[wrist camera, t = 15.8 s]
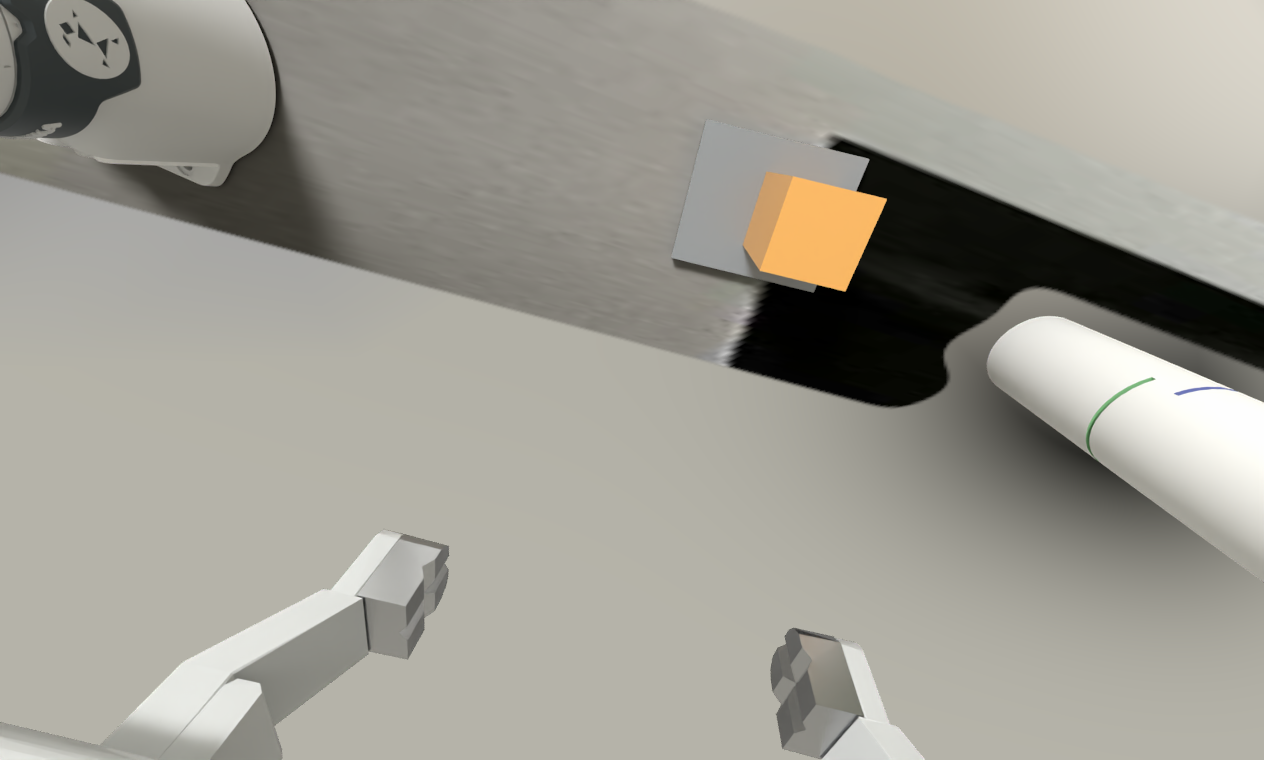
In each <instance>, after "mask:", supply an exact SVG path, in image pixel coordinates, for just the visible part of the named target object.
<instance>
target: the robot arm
mask: <svg viewBox="0 0 1264 760" xmlns="http://www.w3.org/2000/svg"><path fill="white" fill-rule="evenodd" d="M275 101H276V88H275V77H274V71H273V66H272V61H271V57H270V54H269V50H268V47H267V44H266V42H265V39H264V36H263V34H262V32H261V29H260V27H259V25H258V23H257V21H256V19H255V17H254V15H253V13H252V11H251V10H250V8H249V6H248V5H247V3H246V1H245V0H0V137H3V138H8V139H34V138H37V139H38V140H40V141H42V142H45V143H49V144H52V145H57V146H63V147H71V148H73V149H74V152H75V153H76V154H78V155H81V156H84V157H89V158H95V159H96V160H97V161H99V162H103V163H110V164H133V165H156V166H159V167H161V168H163V169H165V170H168V171H170V172H172V173H175V174H177V175H179V176H181V177H184V178H186V179H188V180H190V181H193V182H195V183H197V184H200V185H203V186H220V185H221V184H223V182H224V181H225V180H226V178H227V176H228V174H229V172H230V170H231V167H232V165H233V163H234V162H235V161H237V160H238V159H239V158H241V157H243V156H245V155H246V154H248V153H250V152H251V151H253V150H254V149H255V148H256V147H257V146H258V145H259V144H260V143H261V142H262V141H263V139H264V138H265V136H266V134H267V133H268V131H269V128H270V126H271V123H272V120H273V116H274V110H275ZM448 556H449V546H447V545H443V544H439V543H435V542H432V541H427V540H424V539H420V538H416V537H413V536H409V535H406V534H402V533H397V532H393V531H389V530H385V529H383V530H382V531H380V532H379V533H378V534H376V535H375V536H374V538H373V539H372V540H371V541H370V542H369V544H368V545H367V546H366V547H365V549H364V550H363V551H362V552H361V553H360V555H359V556H358V557H357V558H356V560H355V561H354V562H353V563H352V565H351V566H350V567H349V568H348V569H347V571H346V572H345V573H344V574H343V576H342V577H341V578H340V579H339V580H338V581H337V583H336V584H335V585H334V586H333V588H332V589H331V590H328V589H322V590H320V591H318V592H316V593H315V594H312V595H311V596H309V597H307V598H305V599H303V600H301V601H299V602H297V603H295V604H293V605H292V606H289V607H288V608H286V609H284V610H282V611H280V612H278V613H276V614H274V615H272V616H271V617H268V618H267V619H265V620H263V621H261V622H259V623H257V624H255V625H253V626H251V627H249V628H247V629H245V630H243V631H242V632H240V633H238V634H236V635H234V636H232V637H230V638H228V639H226V640H224V641H222V642H221V643H218V644H216V645H215V646H213V647H211V648H209V649H207V650H205V651H203V652H201V653H199V654H197V655H195V656H193V657H192V658H190V659H188V660H186V661H184V662H182V663H181V664H180V665H179V666H178V667H177V668H176V669H175V670H174V671H173V672H172V673H171V674H170V675H169V676H168V677H167V678H166V679H165V681H163V682H162V683H161V684H160V685H159V686H158V687H157V688H156V689H155V690H154V691H153V692H152V693H151V694H150V695H149V696H148V698H146V699H145V700H144V701H143V702H142V703H141V704H140V705H139V706H138V707H137V708H136V709H135V710H134V711H133V712H132V713H131V714H130V716H129V717H127V719H125V721H123V722H122V724H121V725H119V726H118V727H117V728H116V730H114V731H113V732H112V734H111V735H109V737H107V739H105V740H104V742H103V743H102V744H101V745H96V744H91V743H87V742H83V741H79V740H74V739H70V738H66V737H62V736H58V735H53V734H49V733H45V732H41V731H36V730H32V729H28V728H23V727H19V726H15V725H11V724H6V723H2V722H0V760H282V748H281V745H280V742H279V739H278V736H277V733H276V730H275V727H274V726H275V725H276V724H277V723H279V722H280V721H281V720H283V719H284V718H285V717H287V716H288V715H289V714H291V713H292V712H293V711H295V710H296V709H297V708H298V707H300V706H301V705H302V704H304V703H305V702H306V701H308V700H309V699H310V698H312V697H313V696H314V695H316V694H317V693H318V692H319V691H321V690H322V689H323V688H325V687H326V686H327V685H329V684H330V683H331V682H333V681H334V680H335V679H336V678H338V677H339V676H340V675H342V674H343V673H344V672H345V671H347V670H348V669H350V668H351V667H352V666H353V665H355V664H356V663H357V662H359V661H360V660H361V659H363V658H364V657H365V656H367V655H368V651H370V652H375V653H379V654H384V655H389V656H394V657H399V658H403V659H408V658H409V656H410V654H411V653H412V651H413V649H414V647H415V646H416V644H417V642H418V640H419V638H420V637H421V635H422V633H423V631H424V618H425V617H426V616H428V615H429V614H431V613H432V612H434V611H435V609H436V607H437V605H438V604H439V602H440V600H441V598H442V595H443V592H444V589H445V587H446V584H447V579H448V568H447V566H446V565H445V564H444V563H445V561H446V560H447V558H448ZM785 640H786V644H785V645H783V646H781V647H778V648H777V650H776V652H775V654H774V655H773V659H772V664H771V683H772V690H773V693H774V695H775V696H776V697H777V699H778V700H779V702H780V703H781V706H780V708H779V710H778V712H777V714H776V715H777V720H778V726H779V732H780V738H781V744H782V749H785V750H789V751H792V752H796V753H800V754H804V755H807V756H811V757H814V758H818V759H822V760H925V759H924V758H923V757H922V755H921V754H920V753H919V752H918V750H917V749H916V748H915V747H914V746H913V745H912V743H911V742H910V741H909V740H908V738H907V737H906V736H905V735H904V734H903V732H902V731H901V730H900V729H899V728H898V726H896V725H892V724H890V722H889V719H888V717H887V714H886V711H885V708H884V706H883V703H882V700H881V698H880V695H879V692H878V689H877V687H876V684H875V681H874V679H873V676H872V673H871V671H870V668H869V665H868V663H867V660H866V657H865V654H864V652H863V649H862V648H861V646H860V645H859V644H858V643H855V642H852V641H847V640H843V639H838V638H834V637H832V636H828V635H824V634H819V633H815V632H810V631H805V630H801V629H797V628H792V629H790V630H789V631H788V632H787V634H786V635H785Z"/></svg>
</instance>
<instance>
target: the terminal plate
mask: <svg viewBox="0 0 1264 760" xmlns="http://www.w3.org/2000/svg"><path fill="white" fill-rule="evenodd" d="M868 162H869V159H867V158H863V157H859V156H855V155H851V154H846V153H842V152H838V151H834V150H830V149H826V148H822V147H818V146H814V145H810V144H806V143H802V142H798V141H793V140H789V139H785V138H781V137H777V136H773V135H769V134H765V133H761V132H757V131H753V130H749V129H744V128H740V127H736V126H732V125H728V124H724V123H720V122H716V121H712V120H708V119H706V122H705V126H704V130H703V133H702V137H701V141H700V145H699V149H698V153H697V157H696V161H695V165H694V169H693V173H692V177H691V181H690V185H689V189H688V192H687V196H686V200H685V204H684V208H683V212H682V216H681V220H680V224H679V228H678V232H677V236H676V240H675V244H674V248H673V252H672V255H671V258H674V259H678V260H682V261H686V262H690V263H694V264H698V265H703V266H707V267H711V268H715V269H719V270H723V271H727V272H731V273H735V274H739V275H744V276H748V277H752V278H756V279H760V280H764V281H768V282H772V283H776V284H780V285H785V286H789V287H793V288H797V289H801V290H805V291H809V292H813V293H814V291H815V288H816V286H817V285H816V284H812V283H808V282H804V281H800V280H796V279H792V278H788V277H783V276H779V275H775V274H771V273H767V272H763V271H760V270H759V269H758V267H757V266H756V264H755V263H754V261H753V260H752V258H751V257H750V255H749V254H748V252H747V251H746V249H745V248H744V246H743V242H744V239H745V236H746V233H747V230H748V227H749V224H750V221H751V218H752V215H753V212H754V209H755V205H756V202H757V199H758V196H759V193H760V190H761V187H762V184H763V181H764V178H765V175H766V172H772V173H778V174H784V175H789V176H794V177H798V178H803V179H807V180H811V181H815V182H819V183H823V184H827V185H831V186H835V187H839V188H844V189H848V190H852V191H856V190H857V188H858V186H859V183H860V181H861V178H862V176H863V174H864V171H865V169H866V166H867V164H868Z"/></svg>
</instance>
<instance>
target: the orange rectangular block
mask: <svg viewBox="0 0 1264 760" xmlns="http://www.w3.org/2000/svg"><path fill="white" fill-rule="evenodd" d="M886 200H887V199H885V198H880V197H876V196H872V195H868V194H864V193H860V192H856V191H852V190H848V189H844V188H839V187H835V186H831V185H827V184H823V183H819V182H815V181H811V180H807V179H803V178H798V177H794V176H789V175H784V174H778V173H772V172H766V175H765V178H764V181H763V184H762V187H761V190H760V193H759V196H758V199H757V202H756V205H755V209H754V212H753V215H752V218H751V221H750V224H749V227H748V230H747V233H746V236H745V239H744V242H743V246H744V248H745V249H746V251H747V252H748V254H749V255H750V257H751V258H752V260H753V261H754V263H755V264H756V266H757V267H758V269H759V270H760V271H763V272H767V273H771V274H775V275H779V276H783V277H788V278H792V279H796V280H800V281H804V282H808V283H812V284H816V285H820V286H825V287H829V288H833V289H837V290H841V291H846V289H847V287H848V284H849V282H850V280H851V278H852V276H853V273H854V271H855V269H856V267H857V265H858V262H859V260H860V258H861V256H862V253H863V251H864V249H865V247H866V245H867V242H868V240H869V238H870V236H871V234H872V231H873V229H874V227H875V225H876V222H877V220H878V218H879V216H880V214H881V211H882V209H883V207H884V205H885V203H886Z"/></svg>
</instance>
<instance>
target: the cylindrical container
mask: <svg viewBox="0 0 1264 760" xmlns="http://www.w3.org/2000/svg"><path fill="white" fill-rule="evenodd" d="M987 373H988V376H989V378H990V380H991V381H992V382H993V384H995V385H996V386H997V387H999V388H1000V389H1001V390H1002V391H1004V392H1005V393H1007V394H1008V395H1009V396H1011V397H1012V398H1013V399H1015V400H1016V401H1017V402H1019V403H1020V404H1022V405H1023V406H1024V407H1026V408H1027V409H1028V410H1030V411H1031V412H1032V413H1034V414H1035V415H1036V416H1038V417H1039V418H1041V419H1042V420H1043V421H1044V422H1046V423H1047V424H1049V425H1050V426H1051V427H1053V428H1054V429H1055V430H1057V431H1058V432H1060V433H1061V434H1062V435H1063V436H1065V437H1066V438H1068V439H1069V440H1070V441H1072V442H1073V443H1074V444H1076V445H1077V446H1078V447H1080V448H1081V449H1082V450H1084V451H1085V452H1087V453H1088V454H1089V455H1091V456H1092V457H1093V458H1095V459H1096V460H1098V461H1099V462H1100V463H1102V464H1103V465H1104V466H1106V467H1107V468H1108V469H1110V470H1111V471H1112V472H1114V473H1115V474H1117V475H1118V476H1119V477H1121V478H1122V479H1123V480H1125V481H1126V482H1127V483H1129V484H1130V485H1132V486H1133V487H1134V488H1136V489H1137V490H1138V491H1140V492H1141V493H1142V494H1144V495H1145V496H1146V497H1148V498H1149V499H1151V500H1152V501H1153V502H1155V503H1156V504H1157V505H1159V506H1160V507H1161V508H1163V509H1164V510H1165V511H1167V512H1168V513H1170V514H1171V515H1172V516H1174V517H1175V518H1176V519H1178V520H1179V521H1181V522H1182V523H1183V524H1185V525H1186V526H1187V527H1189V528H1190V529H1192V530H1193V531H1194V532H1196V533H1197V534H1198V535H1200V536H1201V537H1203V538H1204V539H1205V540H1206V541H1208V542H1209V543H1210V544H1212V545H1214V546H1215V547H1216V548H1217V549H1219V550H1220V551H1221V552H1223V553H1224V554H1225V555H1227V556H1228V557H1230V558H1231V559H1232V560H1234V561H1235V562H1236V563H1238V564H1239V565H1240V566H1242V567H1243V568H1245V569H1246V570H1247V571H1249V572H1250V573H1251V574H1253V575H1254V576H1255V577H1257V578H1258V579H1260V580H1261V581H1262V582H1264V402H1261V401H1259V400H1256V399H1254V398H1251V397H1249V396H1247V395H1245V394H1242V393H1240V392H1237V391H1235V390H1233V389H1230V388H1228V387H1226V386H1223V385H1221V384H1219V383H1216V382H1214V381H1212V380H1209V379H1207V378H1205V377H1202V376H1200V375H1198V374H1195V373H1193V372H1190V371H1188V370H1186V369H1183V368H1181V367H1179V366H1177V365H1174V364H1172V363H1169V362H1167V361H1165V360H1162V359H1160V358H1158V357H1155V356H1153V355H1151V354H1148V353H1146V352H1144V351H1141V350H1139V349H1137V348H1134V347H1132V346H1129V345H1127V344H1125V343H1122V342H1120V341H1118V340H1115V339H1113V338H1111V337H1108V336H1106V335H1103V334H1101V333H1099V332H1096V331H1094V330H1092V329H1089V328H1087V327H1084V326H1082V325H1080V324H1077V323H1075V322H1073V321H1070V320H1068V319H1066V318H1062V317H1057V316H1044V317H1037V318H1034V319H1030V320H1027V321H1025V322H1022V323H1020V324H1018V325H1016V326H1015V327H1013V328H1012V329H1010V330H1009V331H1007V332H1006V333H1005V334H1004V335H1003V336H1001V338H1000V339H999V340H998V341H997V342H996V343H995V345H994V347H993V348H992V350H991V351H990V354H989V357H988V360H987Z"/></svg>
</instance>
